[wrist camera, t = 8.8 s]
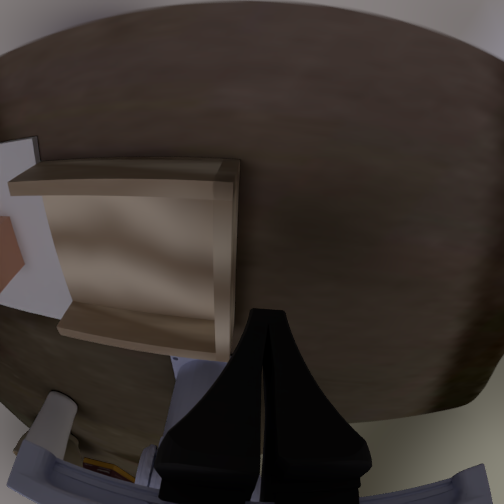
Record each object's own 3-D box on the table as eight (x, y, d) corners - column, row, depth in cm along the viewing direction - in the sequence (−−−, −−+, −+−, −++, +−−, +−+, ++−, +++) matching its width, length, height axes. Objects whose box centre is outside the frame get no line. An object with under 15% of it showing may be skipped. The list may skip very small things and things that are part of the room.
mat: (83, 319, 27) (81, 323, 27) (-5, 298, 28) (-8, 302, 27) (36, 136, 18) (32, 138, 17) (-53, 154, 18) (-57, 156, 17)
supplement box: (114, 464, 58) (100, 516, 45) (142, 482, 66) (133, 528, 53) (83, 456, 60) (69, 504, 46) (113, 476, 68) (103, 519, 55)
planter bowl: (106, 450, 51) (94, 492, 42) (70, 447, 56) (58, 482, 47) (47, 410, 44) (28, 456, 35) (19, 411, 49) (3, 448, 40)
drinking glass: (39, 382, 37) (5, 459, 25) (73, 393, 37) (41, 477, 25) (56, 404, 41) (28, 475, 28) (88, 414, 41) (62, 491, 28)
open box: (234, 325, 26) (229, 362, 23) (78, 304, 26) (60, 334, 23) (240, 159, 19) (233, 182, 15) (40, 161, 19) (7, 182, 15)
